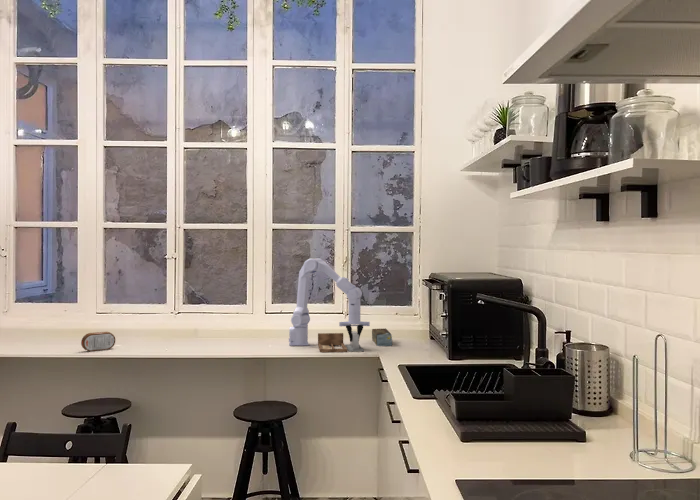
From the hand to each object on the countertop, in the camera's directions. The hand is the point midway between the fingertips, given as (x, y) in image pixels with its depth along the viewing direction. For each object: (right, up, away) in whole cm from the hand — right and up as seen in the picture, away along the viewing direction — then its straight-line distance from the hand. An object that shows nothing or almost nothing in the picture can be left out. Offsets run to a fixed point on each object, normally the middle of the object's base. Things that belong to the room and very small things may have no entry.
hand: (354, 341), depth 287 cm
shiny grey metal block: (0, -3, 0) cm, 3 cm away
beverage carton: (+14, -4, +17) cm, 22 cm away
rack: (-11, -3, -1) cm, 12 cm away
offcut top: (-13, -4, -1) cm, 14 cm away
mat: (0, -3, 0) cm, 3 cm away
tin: (-119, -3, -9) cm, 120 cm away
